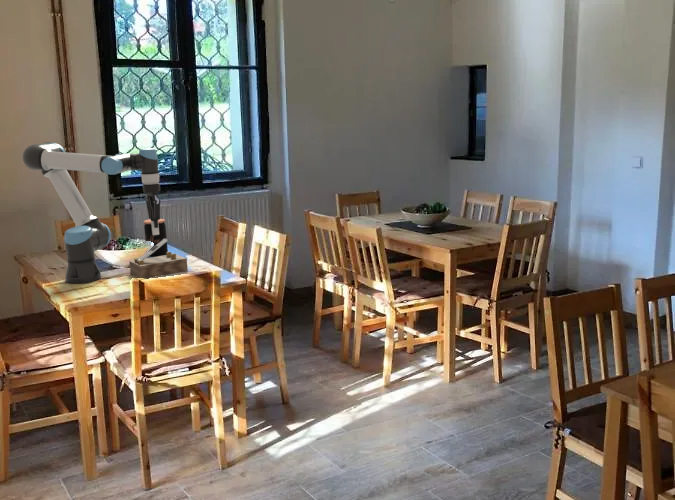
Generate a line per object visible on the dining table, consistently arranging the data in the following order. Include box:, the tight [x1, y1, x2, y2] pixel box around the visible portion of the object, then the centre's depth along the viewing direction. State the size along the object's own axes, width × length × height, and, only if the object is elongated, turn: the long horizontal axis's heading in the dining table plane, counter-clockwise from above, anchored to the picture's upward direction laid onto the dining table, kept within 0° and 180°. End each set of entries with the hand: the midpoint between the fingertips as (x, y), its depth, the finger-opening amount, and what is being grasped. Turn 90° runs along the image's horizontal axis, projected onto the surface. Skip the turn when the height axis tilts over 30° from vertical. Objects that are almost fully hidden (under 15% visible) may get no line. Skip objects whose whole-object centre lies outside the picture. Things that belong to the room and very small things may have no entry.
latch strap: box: [136, 238, 169, 262], centre depth 325 cm, size 17×3×2 cm
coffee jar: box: [143, 218, 169, 258], centre depth 364 cm, size 11×11×18 cm
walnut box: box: [129, 251, 188, 279], centre depth 328 cm, size 22×14×8 cm, turn 126°
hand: (155, 234), depth 325 cm, fingers closed
